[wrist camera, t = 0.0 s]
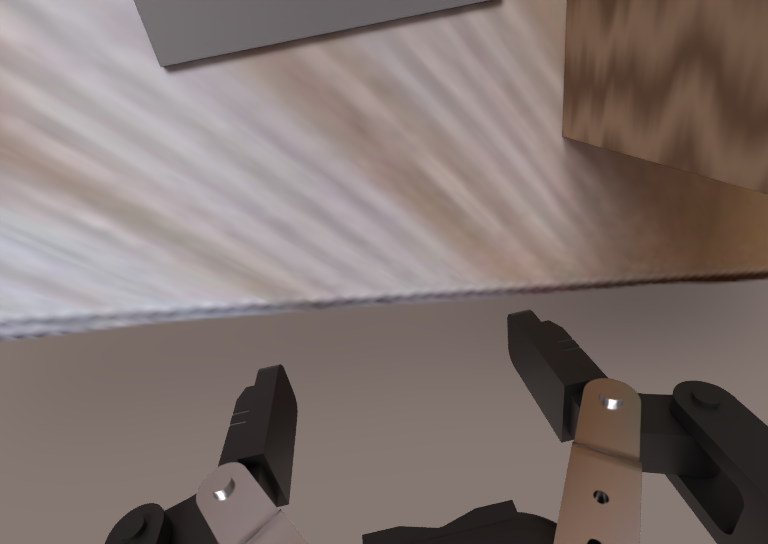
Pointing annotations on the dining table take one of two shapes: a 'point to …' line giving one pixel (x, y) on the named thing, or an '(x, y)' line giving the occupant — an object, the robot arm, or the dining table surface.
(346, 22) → the mat
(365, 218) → the dining table surface
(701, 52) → the brown wooden box
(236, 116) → the dining table surface
